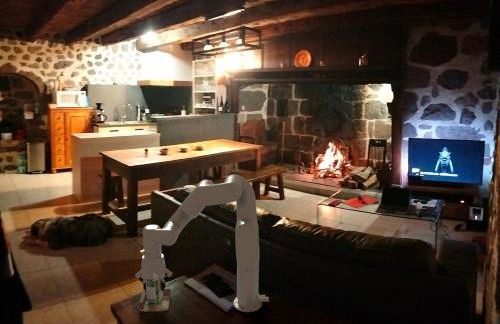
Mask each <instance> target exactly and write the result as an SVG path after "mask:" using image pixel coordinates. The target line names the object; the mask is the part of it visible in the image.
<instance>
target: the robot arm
mask: <svg viewBox="0 0 500 324" xmlns="http://www.w3.org/2000/svg"><path fill="white" fill-rule="evenodd" d="M256 200H257V199H256V194H255V190H254V188H253V186H252V184H251V183H250V182H249V180H247V179H246V178H245V177H244V176H241V175H239V174H230V175H228V176H227V177H226V178H225V179H224V181H223V183H214V182H213V181H211V180H209V179H203V180H201V181H199V182H198V183H197V184H196V186H195V187H194V188H192V191H191V192H190V193H189V194H188V196H187V197H186V198H184V200H183V201H182V202H181V204H180V205H179V206H178V208H177V209H176V211H175V212H174V213H173V214H172V215H171V216H170V218H169V219H168V221H166V223H165V224H164V226H163V228H161V227H160V225H158V224H148V225H145V226H144V227H143V229H142V237H143V238H142V239H143V241H142V242H143V244H142V245H143V250H140V255H142V259H141V269H139V271H138V272H137V273H135V276H134V277H136V279H138V281H140V282H141V284H142V289H145V292H146V280H147V279H153V273H158V279H161V280H162V291H164V288H165V287H167V286H166V282H167V281H168V280H169V279H170V277H171V276H173V272H172V271H171V270H169V269H168V268H167V267H166V262H165V261H166V260H165V256H164V254H163V253H162V251H163V249H162V246H166V247H167V246H168V247H169V246H172V245H174V244H175V243H176V242H177V239H178V237H179V235H180V234H181V232H182V231H183V229H184V228H186V226H187V224H188V223H189V222H190V221H191V220H192V219H196V218H197V217H198V216H199V215H200V213H202V211H203V210H204V209H205V208H206V207H207V206H209V207H210V206H217V205H222V204H232V203H235V206H236V208H235V209H236V225H235V232H234V233H235V238H234V239H235V254H236V255H235V257H236V266H237V267H236V269H237V270H236V297H235V298H234V300H233V307H234V309H236V310H238V311H240V312H243V313H251V312H255V311H258V310H260V308H261V307H262V304H263V302H265V303H266V302H267V303H268V302H269V301H270V300H269V299H270V298H269V296H266V294H259V277H260V276H259V274H260V271H259V270H260V240H259V239H260V238H259V236H260V235H259V223H258V214H257V201H256ZM166 274H167V275H166Z"/></svg>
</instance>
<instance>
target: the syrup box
mask: <svg viewBox="0 0 500 324" xmlns="http://www.w3.org/2000/svg"><path fill="white" fill-rule="evenodd" d="M146 294H147V302H153V303H159V302H160V300H161V299H162V298H163V291H162V280H161V279H158V273H153V279H147V280H146Z"/></svg>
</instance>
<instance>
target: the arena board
mask: <svg viewBox="0 0 500 324" xmlns="http://www.w3.org/2000/svg"><path fill="white" fill-rule="evenodd" d="M142 289H143V288H142ZM170 303H171V286H166V287H165V288H164V291H163V298H162V299H161V300H160V302H159V303H153V302H147V294H146V292H145V289H143V290H142V293H141V296H140V299H139V312H140V311H142V313H143V311H144V312H145V313H146V312H165V311H169V308H170Z"/></svg>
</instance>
